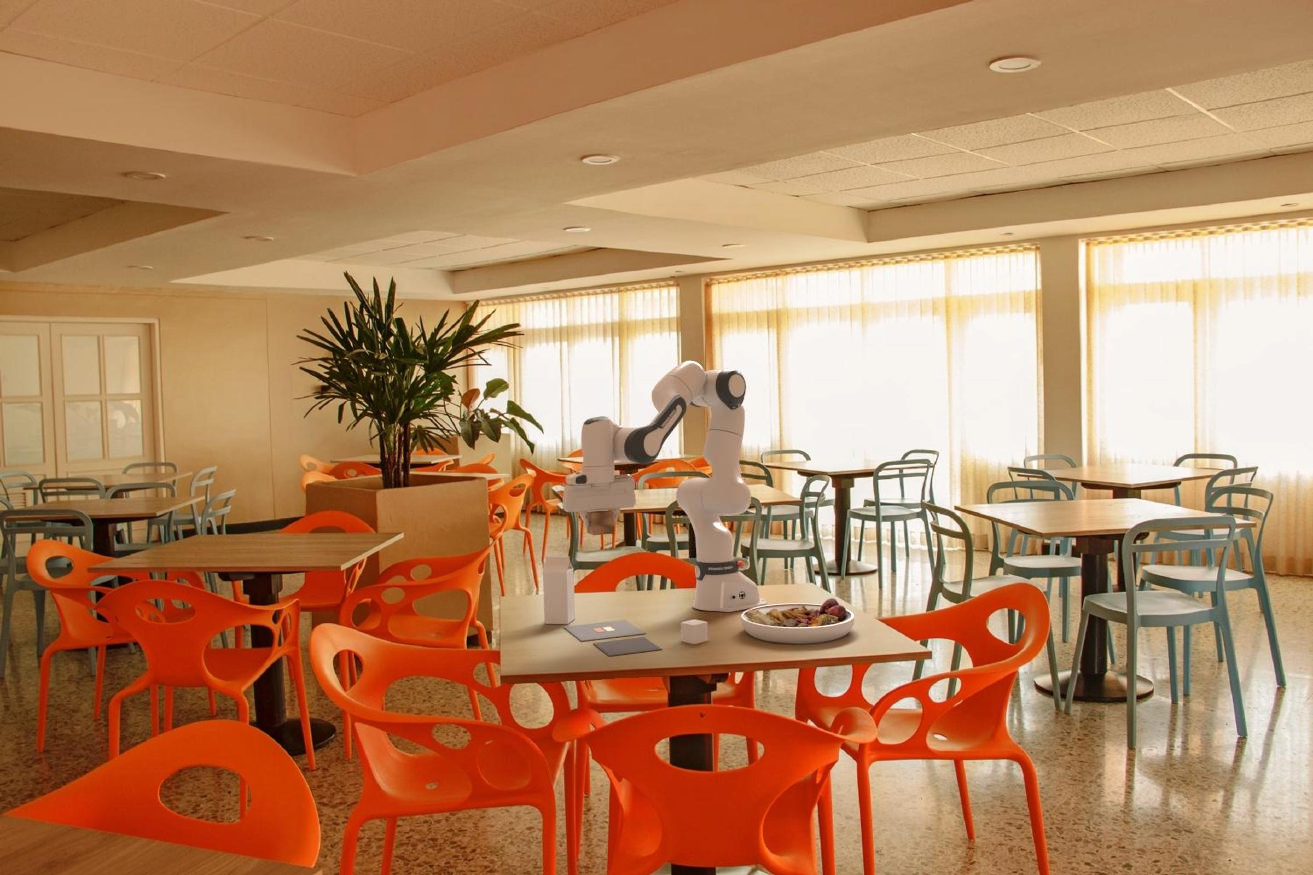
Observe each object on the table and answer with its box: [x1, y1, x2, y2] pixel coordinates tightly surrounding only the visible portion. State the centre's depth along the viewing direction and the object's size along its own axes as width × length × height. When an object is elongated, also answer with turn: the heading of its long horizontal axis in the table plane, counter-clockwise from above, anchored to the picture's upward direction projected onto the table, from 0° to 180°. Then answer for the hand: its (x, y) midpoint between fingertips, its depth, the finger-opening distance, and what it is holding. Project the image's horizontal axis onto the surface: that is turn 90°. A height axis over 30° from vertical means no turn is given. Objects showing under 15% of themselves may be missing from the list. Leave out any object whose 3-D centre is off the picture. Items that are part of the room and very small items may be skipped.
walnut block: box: [585, 509, 615, 536], centre depth 275 cm, size 6×6×6 cm
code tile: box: [563, 619, 646, 643], centre depth 276 cm, size 18×18×1 cm
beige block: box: [680, 618, 709, 645], centre depth 262 cm, size 5×5×5 cm
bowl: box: [740, 597, 855, 645], centre depth 268 cm, size 30×30×8 cm
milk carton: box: [542, 556, 576, 625], centre depth 289 cm, size 7×7×19 cm
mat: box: [592, 636, 663, 657], centre depth 258 cm, size 14×14×1 cm
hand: (600, 526), depth 275 cm, fingers closed on walnut block, 6 cm apart
